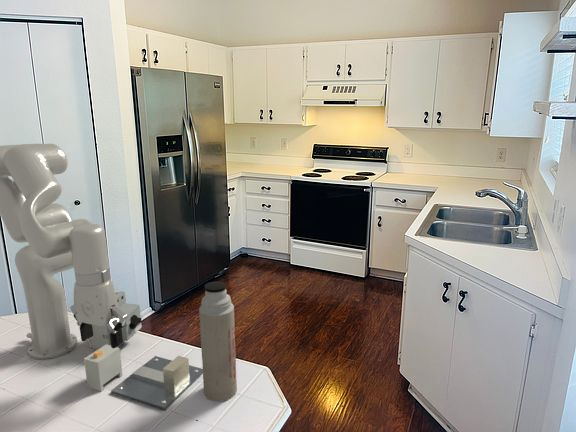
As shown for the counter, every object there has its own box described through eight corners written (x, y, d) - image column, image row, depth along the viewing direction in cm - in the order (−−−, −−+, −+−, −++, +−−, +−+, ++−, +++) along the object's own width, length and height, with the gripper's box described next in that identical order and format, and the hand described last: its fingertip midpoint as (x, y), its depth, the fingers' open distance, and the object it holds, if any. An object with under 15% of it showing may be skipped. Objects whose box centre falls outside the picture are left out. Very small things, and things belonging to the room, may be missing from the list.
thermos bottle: (242, 384, 106) (239, 280, 99) (227, 405, 98) (222, 294, 91) (214, 378, 108) (209, 276, 101) (197, 397, 101) (190, 289, 94)
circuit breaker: (134, 353, 119) (129, 304, 116) (89, 348, 122) (83, 300, 118) (147, 339, 126) (143, 293, 123) (105, 334, 129) (99, 289, 125)
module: (87, 387, 105) (83, 354, 103) (109, 371, 111) (105, 340, 109) (101, 391, 103) (97, 359, 101) (122, 375, 109) (119, 344, 107)
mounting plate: (111, 393, 102) (108, 368, 101) (155, 358, 117) (153, 336, 115) (164, 410, 96) (162, 384, 95) (204, 371, 111) (203, 348, 109)
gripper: (53, 277, 100) (63, 343, 104) (108, 287, 93) (117, 356, 97) (79, 267, 107) (88, 329, 110) (132, 275, 100) (140, 340, 104)
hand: (102, 342), depth 104 cm, fingers open, 9 cm apart
